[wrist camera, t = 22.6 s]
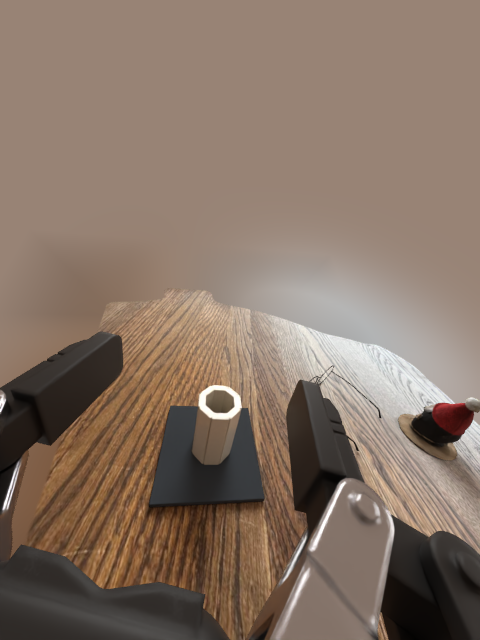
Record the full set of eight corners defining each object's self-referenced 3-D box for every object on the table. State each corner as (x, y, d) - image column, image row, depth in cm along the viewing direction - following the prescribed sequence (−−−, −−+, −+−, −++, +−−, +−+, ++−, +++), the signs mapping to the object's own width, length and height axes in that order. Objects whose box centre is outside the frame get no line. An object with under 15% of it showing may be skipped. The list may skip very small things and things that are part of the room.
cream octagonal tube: (190, 465, 24) (197, 418, 21) (194, 427, 29) (199, 384, 25) (231, 464, 25) (243, 420, 22) (228, 428, 30) (238, 386, 26)
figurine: (420, 389, 41) (507, 399, 30) (427, 444, 39) (523, 478, 28) (385, 387, 40) (462, 398, 28) (390, 445, 38) (476, 481, 26)
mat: (148, 507, 21) (148, 504, 21) (170, 408, 31) (170, 405, 31) (263, 501, 23) (264, 498, 23) (247, 410, 34) (248, 408, 33)
